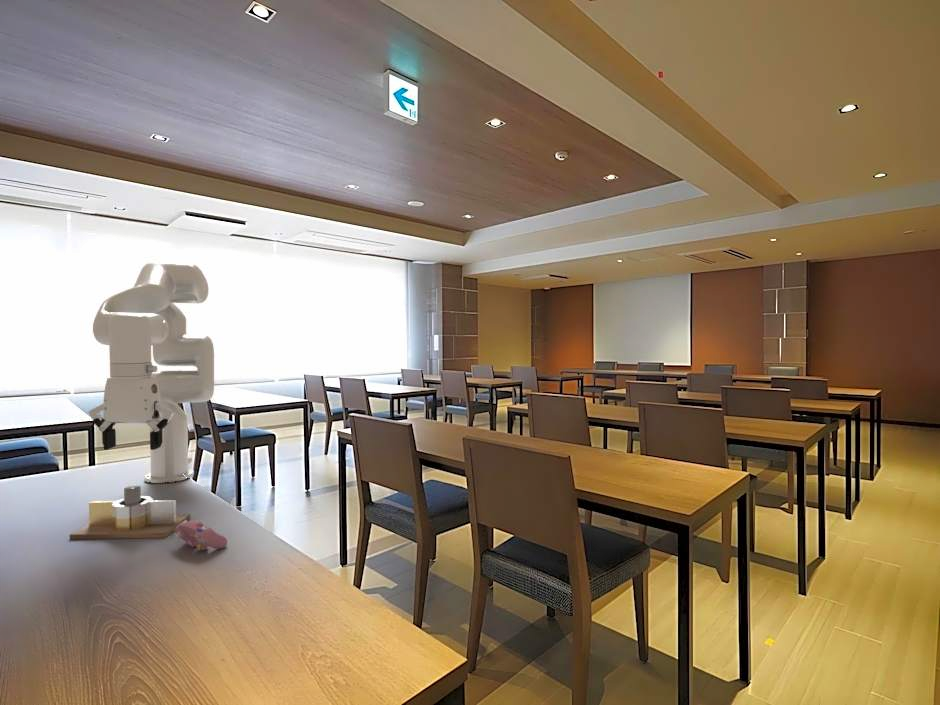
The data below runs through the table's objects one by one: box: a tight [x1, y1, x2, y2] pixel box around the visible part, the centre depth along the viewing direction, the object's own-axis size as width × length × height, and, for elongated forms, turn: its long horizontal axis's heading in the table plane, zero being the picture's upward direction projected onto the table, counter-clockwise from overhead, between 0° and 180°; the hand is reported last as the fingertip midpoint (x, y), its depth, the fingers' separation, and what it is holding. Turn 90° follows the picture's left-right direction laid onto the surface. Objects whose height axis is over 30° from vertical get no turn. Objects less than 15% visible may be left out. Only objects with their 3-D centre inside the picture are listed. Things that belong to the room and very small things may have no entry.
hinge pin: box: [123, 485, 142, 505], centre depth 111 cm, size 3×3×8 cm
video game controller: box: [173, 519, 228, 551], centre depth 101 cm, size 10×5×7 cm, turn 63°
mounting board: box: [69, 513, 191, 540], centre depth 111 cm, size 11×19×1 cm, turn 94°
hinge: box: [88, 495, 177, 530], centre depth 111 cm, size 7×18×5 cm, turn 94°
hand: (132, 448), depth 111 cm, fingers open, 9 cm apart
